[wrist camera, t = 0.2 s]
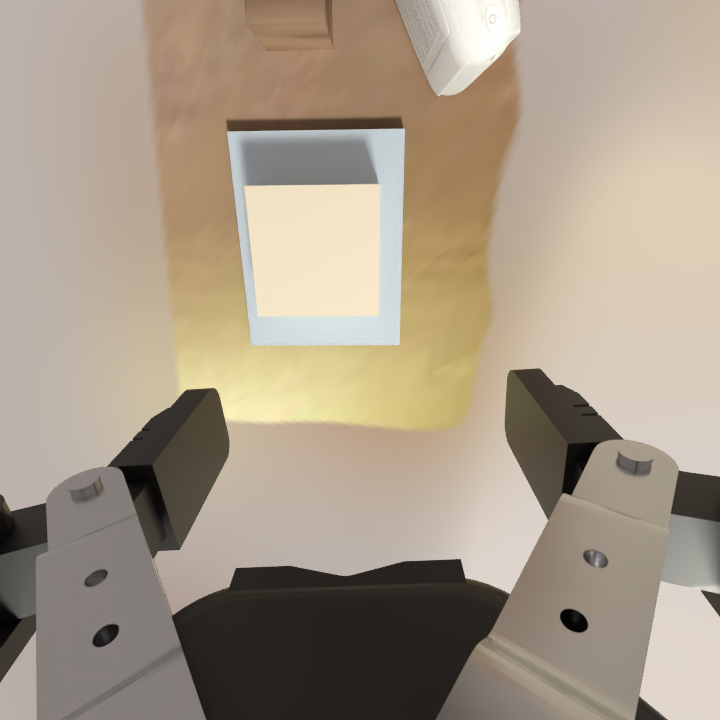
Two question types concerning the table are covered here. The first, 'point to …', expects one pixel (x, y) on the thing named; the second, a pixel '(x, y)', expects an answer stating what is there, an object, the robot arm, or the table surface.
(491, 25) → the photo printer
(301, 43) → the walnut block
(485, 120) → the table surface
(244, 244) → the butter dish
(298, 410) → the table surface
